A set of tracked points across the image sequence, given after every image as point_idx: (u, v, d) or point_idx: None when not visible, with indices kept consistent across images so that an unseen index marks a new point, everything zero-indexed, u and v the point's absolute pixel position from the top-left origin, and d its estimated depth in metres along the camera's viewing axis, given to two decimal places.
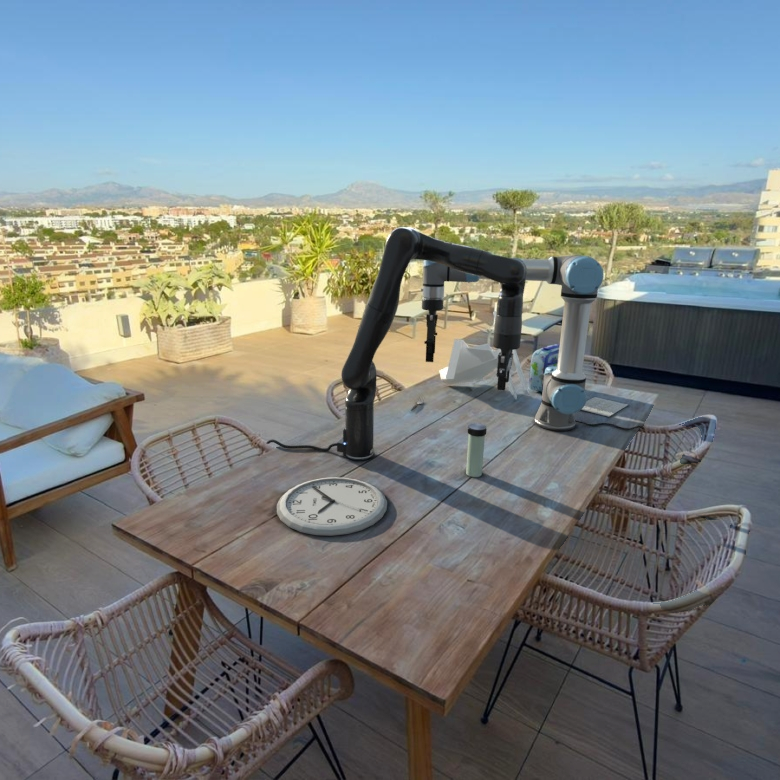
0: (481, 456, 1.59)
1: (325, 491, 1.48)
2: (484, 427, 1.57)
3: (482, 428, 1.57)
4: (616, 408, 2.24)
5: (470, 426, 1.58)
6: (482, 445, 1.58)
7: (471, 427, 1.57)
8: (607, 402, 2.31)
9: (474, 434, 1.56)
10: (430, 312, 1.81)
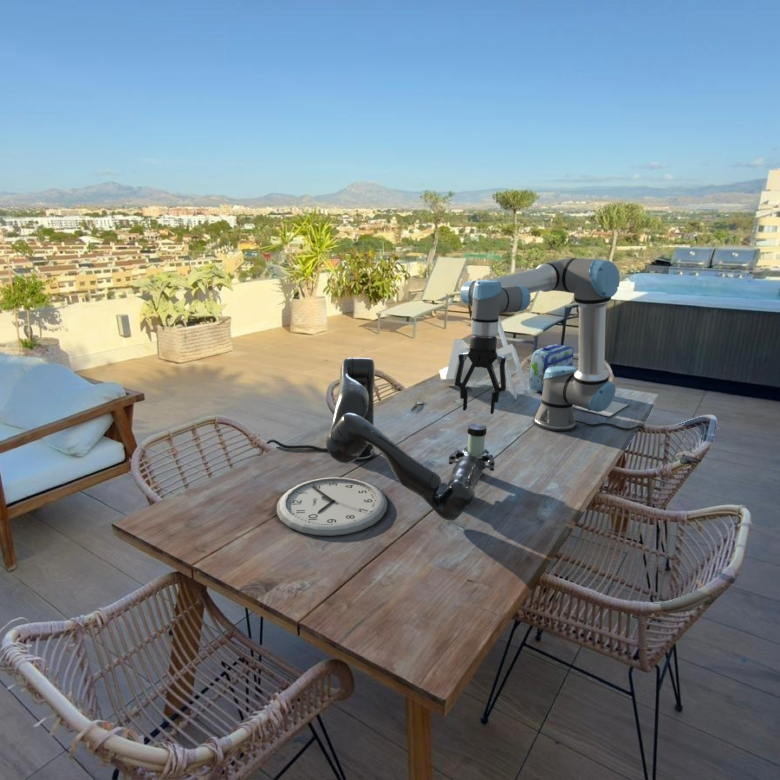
0: None
1: (325, 491, 1.48)
2: (484, 427, 1.57)
3: (482, 428, 1.57)
4: (616, 408, 2.24)
5: (470, 426, 1.58)
6: (482, 445, 1.58)
7: (471, 427, 1.57)
8: None
9: (474, 434, 1.56)
10: None
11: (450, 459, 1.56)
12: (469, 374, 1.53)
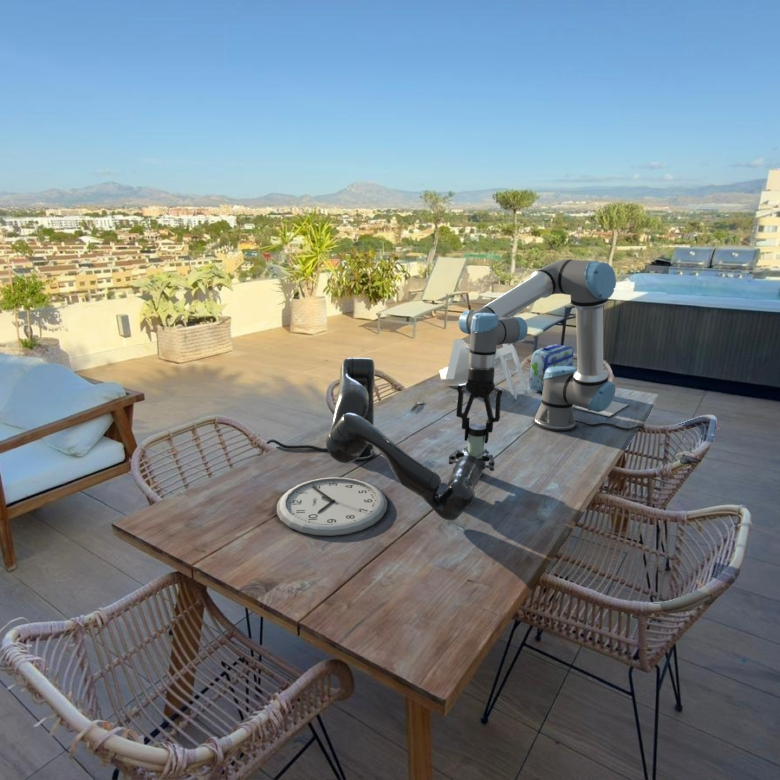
0: None
1: (325, 491, 1.48)
2: (484, 427, 1.57)
3: (482, 428, 1.57)
4: (616, 408, 2.24)
5: (470, 426, 1.58)
6: (482, 445, 1.58)
7: (471, 427, 1.57)
8: None
9: (474, 434, 1.56)
10: None
11: (450, 459, 1.56)
12: (469, 405, 1.56)
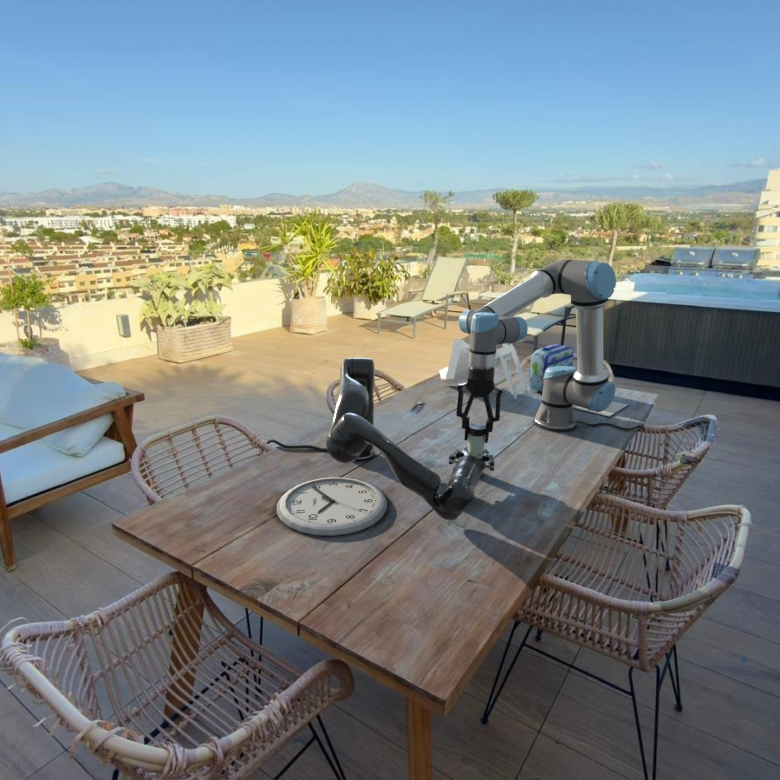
0: None
1: (325, 491, 1.48)
2: (475, 423, 1.60)
3: (478, 424, 1.60)
4: (616, 408, 2.24)
5: (481, 428, 1.56)
6: (482, 445, 1.58)
7: (483, 428, 1.57)
8: None
9: None
10: None
11: (450, 459, 1.56)
12: (469, 404, 1.56)
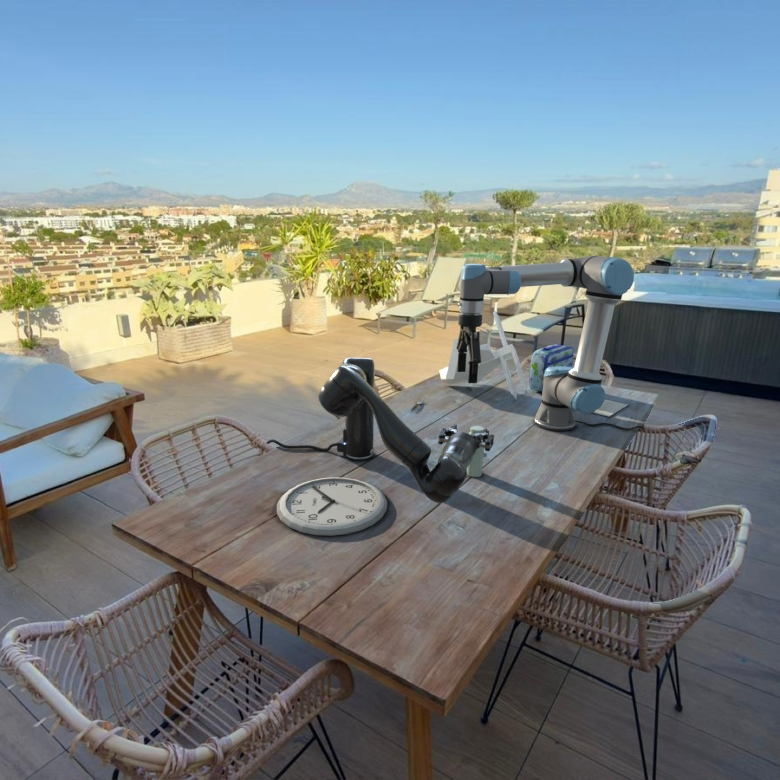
0: (481, 456, 1.59)
1: (325, 491, 1.48)
2: None
3: None
4: (616, 408, 2.24)
5: None
6: None
7: None
8: (607, 402, 2.31)
9: None
10: (471, 329, 1.65)
11: (440, 438, 1.39)
12: None
